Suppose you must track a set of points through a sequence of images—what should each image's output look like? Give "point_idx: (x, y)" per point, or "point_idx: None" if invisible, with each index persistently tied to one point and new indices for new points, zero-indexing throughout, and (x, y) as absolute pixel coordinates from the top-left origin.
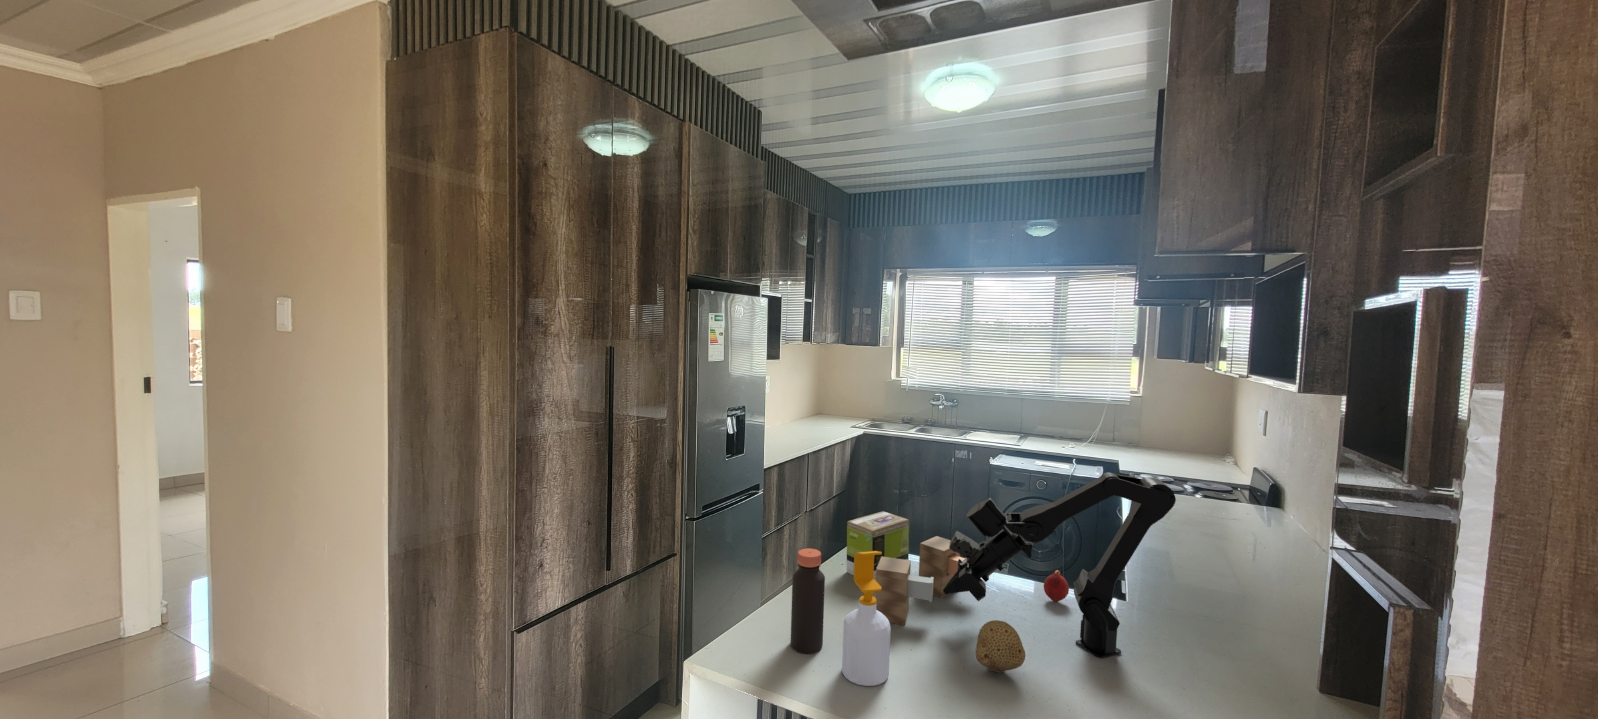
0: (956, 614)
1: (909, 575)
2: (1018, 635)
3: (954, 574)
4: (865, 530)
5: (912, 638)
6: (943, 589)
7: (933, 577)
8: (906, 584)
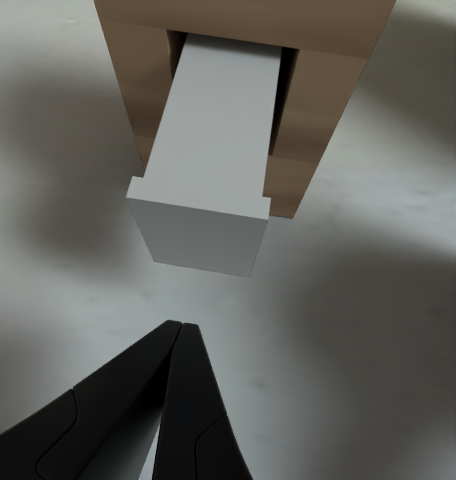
0: (304, 450)
1: (268, 63)
2: None
3: (234, 459)
4: None
5: (46, 215)
6: (178, 323)
7: (260, 217)
8: (105, 36)
